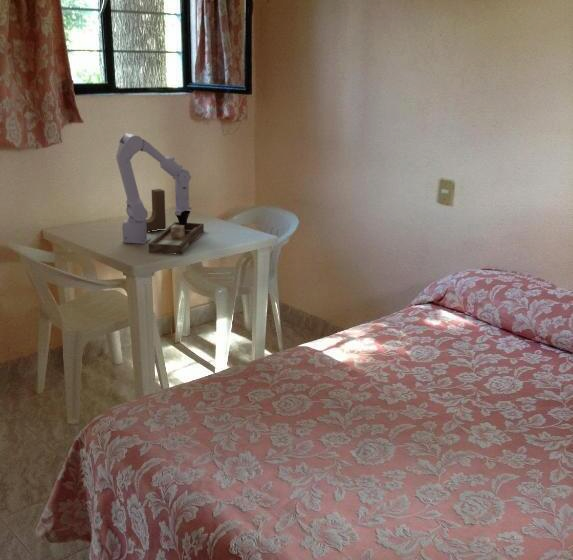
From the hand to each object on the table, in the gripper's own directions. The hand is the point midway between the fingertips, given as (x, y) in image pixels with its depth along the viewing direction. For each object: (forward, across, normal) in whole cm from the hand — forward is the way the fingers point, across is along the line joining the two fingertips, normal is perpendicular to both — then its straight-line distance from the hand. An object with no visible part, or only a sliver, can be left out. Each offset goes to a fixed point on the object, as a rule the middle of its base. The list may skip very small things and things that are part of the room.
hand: (183, 227), depth 285 cm
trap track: (+4, -8, 0) cm, 9 cm away
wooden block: (+4, +7, +15) cm, 17 cm away
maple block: (+2, -8, 0) cm, 8 cm away
